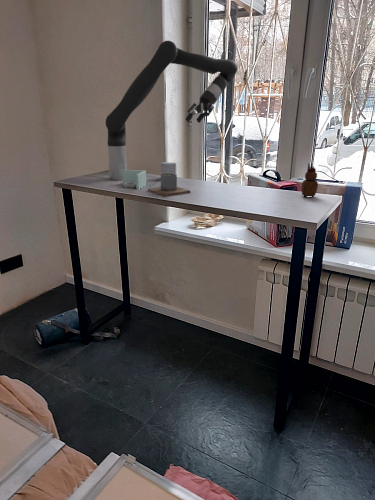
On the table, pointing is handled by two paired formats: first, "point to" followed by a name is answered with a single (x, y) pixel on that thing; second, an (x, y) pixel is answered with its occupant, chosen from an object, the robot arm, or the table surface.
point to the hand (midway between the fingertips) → (192, 121)
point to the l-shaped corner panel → (134, 178)
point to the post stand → (168, 193)
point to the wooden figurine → (310, 182)
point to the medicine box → (168, 168)
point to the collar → (168, 182)
